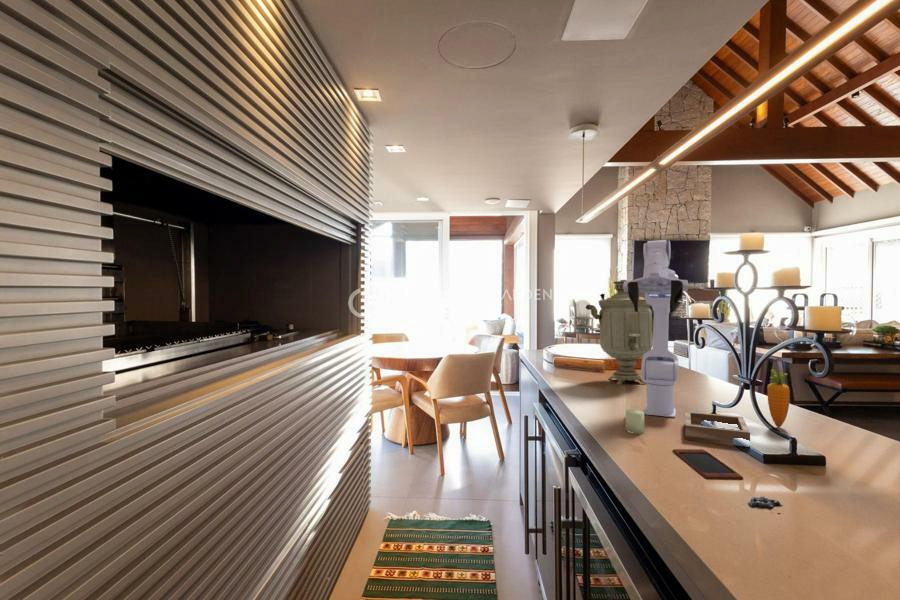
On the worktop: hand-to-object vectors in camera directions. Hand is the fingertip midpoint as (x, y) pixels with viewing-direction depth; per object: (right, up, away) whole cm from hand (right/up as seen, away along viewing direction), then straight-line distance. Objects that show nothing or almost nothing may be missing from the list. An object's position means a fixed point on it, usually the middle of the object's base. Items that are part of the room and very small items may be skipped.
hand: (653, 308), depth 105 cm
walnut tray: (+18, -32, +5) cm, 36 cm away
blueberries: (+4, -33, -31) cm, 46 cm away
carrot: (+37, -31, +10) cm, 50 cm away
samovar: (+20, -31, +68) cm, 77 cm away
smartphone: (+5, -33, -13) cm, 36 cm away
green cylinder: (-1, -32, +9) cm, 33 cm away
